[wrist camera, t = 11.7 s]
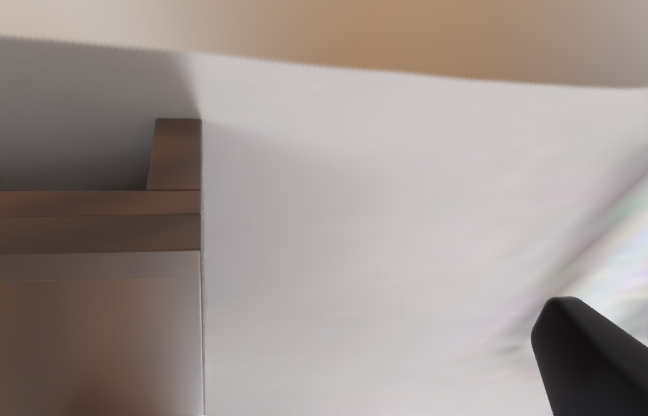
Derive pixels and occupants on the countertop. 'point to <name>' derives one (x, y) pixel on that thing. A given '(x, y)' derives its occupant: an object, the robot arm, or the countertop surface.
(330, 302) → the countertop surface
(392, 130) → the countertop surface
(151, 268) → the shelf
